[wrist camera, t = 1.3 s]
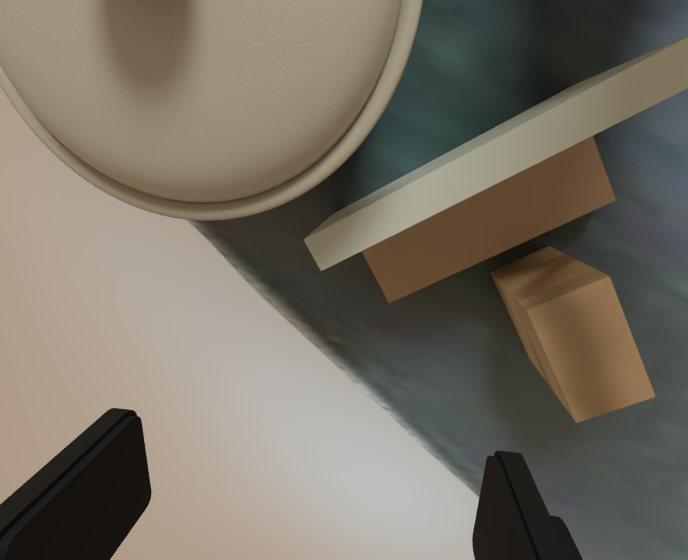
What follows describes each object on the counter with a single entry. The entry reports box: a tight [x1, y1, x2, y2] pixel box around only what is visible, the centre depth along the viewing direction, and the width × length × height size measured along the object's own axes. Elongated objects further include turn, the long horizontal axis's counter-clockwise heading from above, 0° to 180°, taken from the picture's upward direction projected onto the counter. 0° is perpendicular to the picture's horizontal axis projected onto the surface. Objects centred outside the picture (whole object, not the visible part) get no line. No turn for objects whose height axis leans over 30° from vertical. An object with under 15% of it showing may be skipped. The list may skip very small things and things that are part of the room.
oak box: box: [490, 246, 656, 423], centre depth 28 cm, size 5×10×9 cm, turn 28°
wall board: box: [304, 36, 688, 303], centre depth 25 cm, size 20×8×12 cm, turn 118°
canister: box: [0, 0, 423, 220], centre depth 20 cm, size 18×18×21 cm
